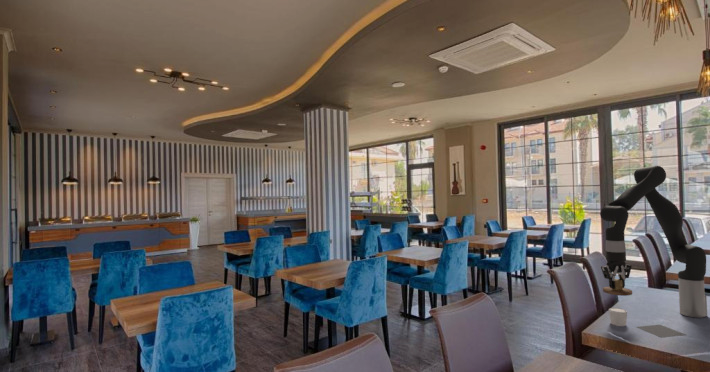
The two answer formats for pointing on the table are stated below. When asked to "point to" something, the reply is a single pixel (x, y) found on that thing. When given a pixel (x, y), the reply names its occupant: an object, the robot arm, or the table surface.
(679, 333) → the rubber mat
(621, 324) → the white short cylinder
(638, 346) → the table surface
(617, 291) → the walnut lid
